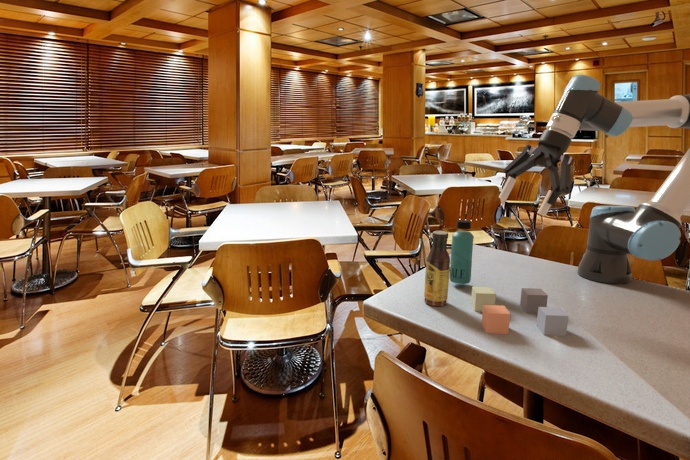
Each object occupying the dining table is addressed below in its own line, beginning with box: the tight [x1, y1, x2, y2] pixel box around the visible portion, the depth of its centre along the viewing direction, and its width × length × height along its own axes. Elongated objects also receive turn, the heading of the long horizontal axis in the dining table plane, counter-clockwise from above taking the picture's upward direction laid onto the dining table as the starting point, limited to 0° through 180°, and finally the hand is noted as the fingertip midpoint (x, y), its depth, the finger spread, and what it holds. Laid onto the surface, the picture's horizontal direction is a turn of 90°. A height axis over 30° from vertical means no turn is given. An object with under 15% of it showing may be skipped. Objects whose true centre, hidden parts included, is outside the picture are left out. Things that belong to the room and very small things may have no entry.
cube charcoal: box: [519, 287, 549, 314], centre depth 120 cm, size 5×5×5 cm
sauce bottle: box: [423, 230, 451, 307], centre depth 122 cm, size 7×6×20 cm
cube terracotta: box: [481, 304, 511, 335], centre depth 108 cm, size 5×5×5 cm
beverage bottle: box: [449, 219, 475, 285], centre depth 136 cm, size 6×7×20 cm
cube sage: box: [470, 286, 497, 312], centre depth 121 cm, size 5×5×5 cm
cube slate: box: [536, 306, 569, 337], centre depth 107 cm, size 5×5×5 cm
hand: (520, 206), depth 125 cm, fingers open, 13 cm apart
